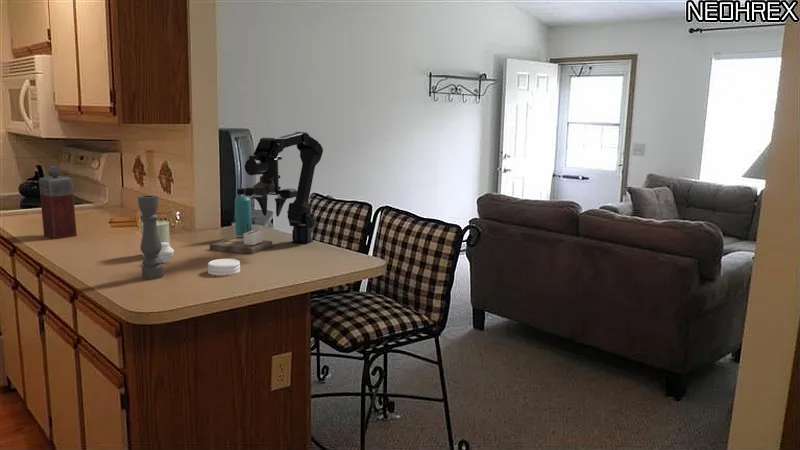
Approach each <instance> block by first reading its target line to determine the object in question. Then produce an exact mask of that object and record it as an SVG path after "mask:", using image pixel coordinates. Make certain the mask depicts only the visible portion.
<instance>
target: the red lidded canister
mask: <svg viewBox="0 0 800 450" xmlns="http://www.w3.org/2000/svg"><path fill="white" fill-rule="evenodd" d="M47 173H48V175H49V176H48V177H47V176H46V177H40V178H38V184H39V195H40V196H39V198H40V205H41V215H42V216H41V217H42V219H41V220H42V228H43V229H42V230H43V237H45V238H47V239H52V240H59V239H60V240H61V239H64V238H72V237H73V238H74V237H77V232H78V231H77V224H76V209H75V199H74V198H75V197H74V185H73V179H72V178H71V177H68V176H61V175H62V168H61V167H59V166H56V165H52V166H49V167H48V171H47Z"/></svg>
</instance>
